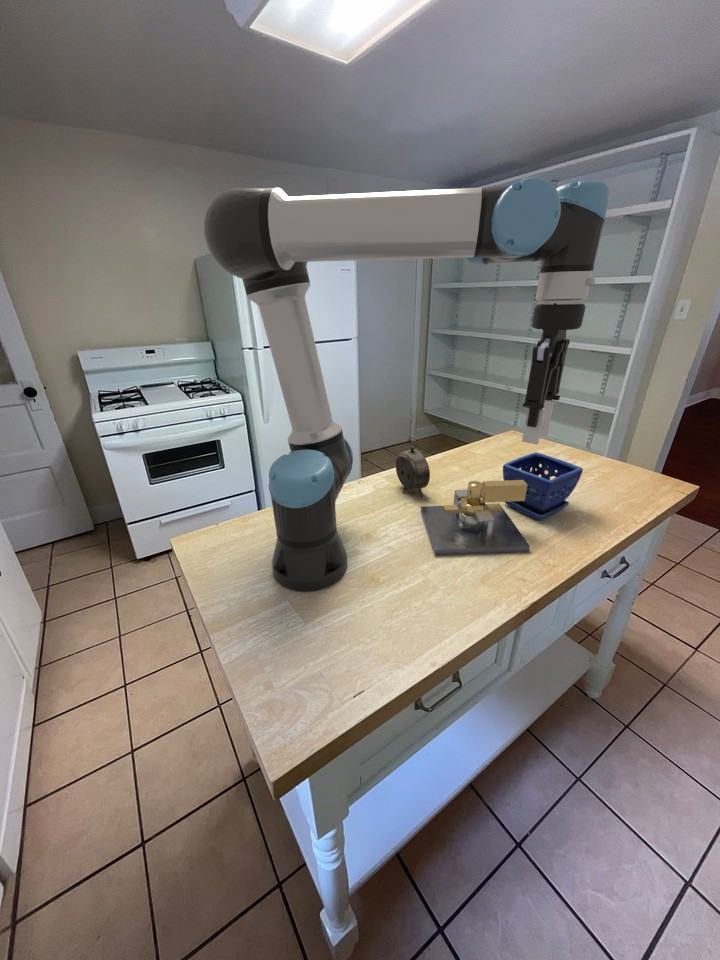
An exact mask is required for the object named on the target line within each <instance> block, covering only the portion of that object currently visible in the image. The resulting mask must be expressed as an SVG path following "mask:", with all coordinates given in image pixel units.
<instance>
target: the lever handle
mask: <svg viewBox="0 0 720 960" xmlns="http://www.w3.org/2000/svg"><path fill="white" fill-rule="evenodd" d="M527 486H528V485H527V484H526V482H525V481H524V480H506V481H504V480H486V481H485V480H484V481H483V480H482V482H481V481H477V480H471V481H469V482H468V483H467V489H466V490H467V498H464V499H462V500H461V508H460V510H461V512H462V513H463V514H465V515H468V516H475V514H474V511H482V510H485V504H486V509H487V510H489V511H490V512H502V508H503V506H502V505H501V504H500V503H502V502H504V503H505V502H508V501H525V496H526V491H527ZM442 506H443V510H444V513H445V514H451V513H458V512H459V509H458V507H457V505H454V504H446V505H445V504H444V505H442Z"/></svg>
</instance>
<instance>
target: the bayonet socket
mask: <svg viewBox="0 0 720 960" xmlns="http://www.w3.org/2000/svg"><path fill="white" fill-rule="evenodd" d="M467 490H468V489H454V494H453V495H454V496H453V505H457V507H458V509H459V512H458V513H451V514H445V513H444V510H443V505H428V506H427V505H424V506H420V514H421V517H422V521H423V523H424V526H425V530H426V533H427V536H428V539H429V542H430V545H431V549H432V551H433V554H434V556H457V555H459V556H460V555H484V554H485V555H487V554H514V553H530V549H531V546H530V544H529V543H528V542H527V540H526V538H525V537H524V535H523V534H522V533H521V531H520V530H519V529H518V527H517V526H516V524H515V523H514V522H513V520H512V519H511V517H510V516H509V514H508V513H507V512H506V510H505V509H504V508H503V507H502V512H490V511H489V510H487V509H486V504H487V503H485V510H482V511H474V514H475V516H468V515H465V514H463V513H462V512H461V510H460V508H461V500H462V499H464V498H467Z"/></svg>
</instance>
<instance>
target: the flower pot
mask: <svg viewBox="0 0 720 960" xmlns="http://www.w3.org/2000/svg"><path fill="white" fill-rule="evenodd" d="M540 465H541V466H540ZM583 470H584V468H583V467H581V466H578V465H576V464H574V463H570V462H568V461H565V460H562V459H560V458H559V459H558V458H556V457H553V456H549V455H548V454H547V455H546V454H543V453H541V452H536V451H535V452H532V453H529V454H526V455H523V456H520V457H518V458H516V459H513V460H510V461H508V462H505V463H504V464H503V465H502V479H503V481H506V480H524V481H525V482H526V484H527V485H528V486H527V491H526V496H525V501H508V502H504V503H505V504H506V505H507V506H508V507H510V508H513V509H514V510H516V511H518V512H521V513H522V514H524V515H527V516H528V517H531V518H533V519H534V520H536V521H540V520H543V519H545V518H547V517H549V516H551V515H553V514H555V513H557V512H559V511H561V510H563V509H564V508H566V507H567V506H568V505H569V504H570V503H569V502H568V501H567V500H566V499H567V498H568V497H569V496H570V495H571V494H572V493H573V491H574V490H575V488H576V487H577V485H578V483H579V481H580V479H581V476H582V474H583ZM546 472H547V473H546ZM552 477H554V478H553V479H551V478H552Z"/></svg>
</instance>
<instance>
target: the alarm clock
mask: <svg viewBox="0 0 720 960" xmlns="http://www.w3.org/2000/svg"><path fill="white" fill-rule="evenodd" d="M410 439H413V440H414V442H415V445H414V446H413V445H412V446H411V443H410ZM407 442H408V446H409V448H410V449H409V450H405V451H402V452H400V453H399V454H398V455H397V457H396V459H395V471H396V472H395V473H396V475H397V478H398V480H399V482H400V484H401V485H402V487H403V490H402V493H403V494H404V493H405V492H406V490H407V491H410V492H414V491H418V493H419V495H420V497H421V498H423V497H424V494H423V491H422V489H424V488H427V486H428V485H429V482H430V480H431V479H430V478H431V471H430V466H429V463H428V461H427V459H426V457H425V455H424V454H423V453H422V452H421V451H420V450H419V449H417V448H416V447H417V440H416V438H415V437H414V436H412V435H411V436H409V438H408V441H407Z"/></svg>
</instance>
